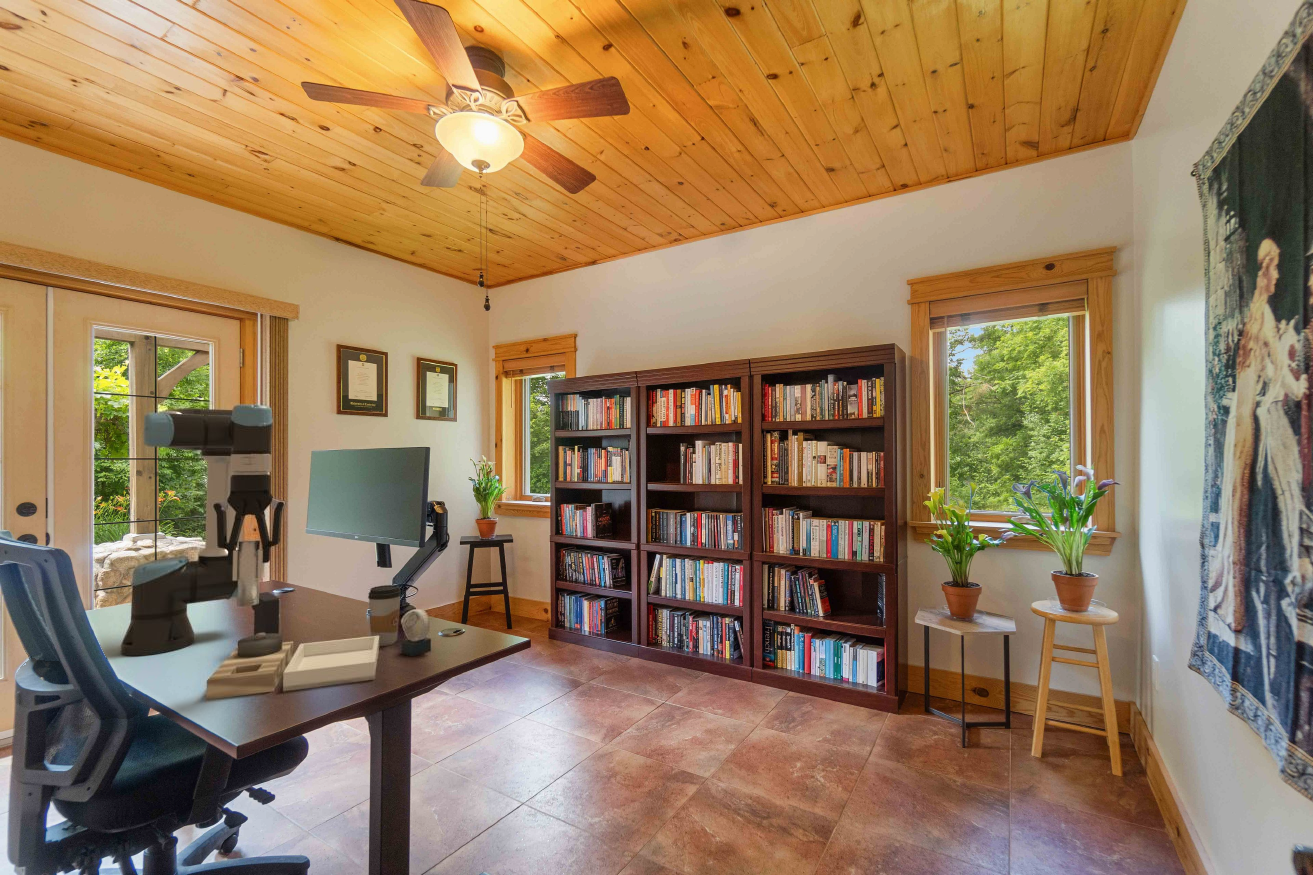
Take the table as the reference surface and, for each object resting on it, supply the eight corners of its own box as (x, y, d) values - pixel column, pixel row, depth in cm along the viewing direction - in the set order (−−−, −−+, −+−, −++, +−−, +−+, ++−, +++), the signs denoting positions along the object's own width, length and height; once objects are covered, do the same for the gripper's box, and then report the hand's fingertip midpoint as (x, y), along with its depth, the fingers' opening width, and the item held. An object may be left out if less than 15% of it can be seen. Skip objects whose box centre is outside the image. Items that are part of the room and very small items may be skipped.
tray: (300, 659, 149) (300, 643, 149) (379, 650, 156) (379, 635, 156) (283, 691, 129) (283, 672, 129) (374, 679, 136) (374, 661, 136)
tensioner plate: (236, 663, 146) (237, 630, 147) (293, 657, 151) (293, 624, 151) (206, 699, 124) (207, 660, 125) (273, 691, 129) (274, 652, 129)
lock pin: (239, 602, 133) (241, 540, 134) (260, 601, 135) (262, 539, 135) (234, 606, 129) (236, 542, 130) (256, 605, 131) (258, 541, 131)
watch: (415, 646, 159) (415, 605, 160) (435, 651, 155) (435, 609, 156) (396, 652, 155) (397, 610, 155) (416, 657, 150) (417, 614, 151)
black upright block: (281, 656, 152) (283, 597, 152) (262, 660, 149) (263, 600, 149) (269, 647, 159) (270, 591, 160) (250, 651, 156) (251, 593, 157)
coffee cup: (387, 648, 158) (388, 591, 159) (360, 646, 160) (361, 590, 160) (407, 639, 166) (407, 585, 167) (380, 637, 168) (381, 584, 168)
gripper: (199, 474, 126) (196, 584, 126) (292, 473, 133) (289, 578, 132) (210, 473, 133) (207, 578, 132) (297, 472, 140) (295, 572, 139)
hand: (248, 578), depth 132 cm, fingers closed on lock pin, 4 cm apart
